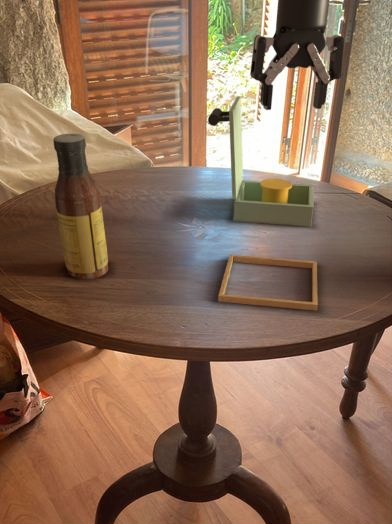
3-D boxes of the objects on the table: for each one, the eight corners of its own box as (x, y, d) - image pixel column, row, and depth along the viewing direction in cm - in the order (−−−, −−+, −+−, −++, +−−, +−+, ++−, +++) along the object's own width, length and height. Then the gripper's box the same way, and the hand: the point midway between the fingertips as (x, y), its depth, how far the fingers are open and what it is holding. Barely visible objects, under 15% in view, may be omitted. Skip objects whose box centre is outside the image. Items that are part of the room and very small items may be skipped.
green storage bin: (310, 207, 109) (313, 185, 106) (310, 230, 99) (313, 207, 97) (239, 202, 110) (241, 180, 108) (232, 224, 101) (234, 201, 99)
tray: (315, 271, 86) (316, 261, 86) (315, 315, 76) (317, 304, 75) (229, 263, 88) (229, 254, 87) (217, 305, 77) (218, 295, 76)
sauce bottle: (98, 261, 88) (86, 127, 77) (116, 277, 84) (105, 138, 73) (58, 271, 85) (39, 133, 74) (74, 288, 81) (57, 145, 70)
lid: (240, 96, 100) (214, 97, 101) (233, 110, 90) (204, 112, 91) (243, 178, 108) (218, 178, 109) (236, 199, 98) (209, 199, 99)
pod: (289, 207, 106) (292, 179, 103) (288, 218, 102) (291, 189, 99) (259, 205, 107) (261, 177, 104) (257, 216, 102) (259, 187, 99)
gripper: (265, -9, 79) (256, 115, 88) (361, -8, 81) (342, 112, 90) (250, -11, 85) (243, 104, 94) (340, -11, 87) (325, 102, 97)
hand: (292, 108), depth 92 cm, fingers open, 8 cm apart
